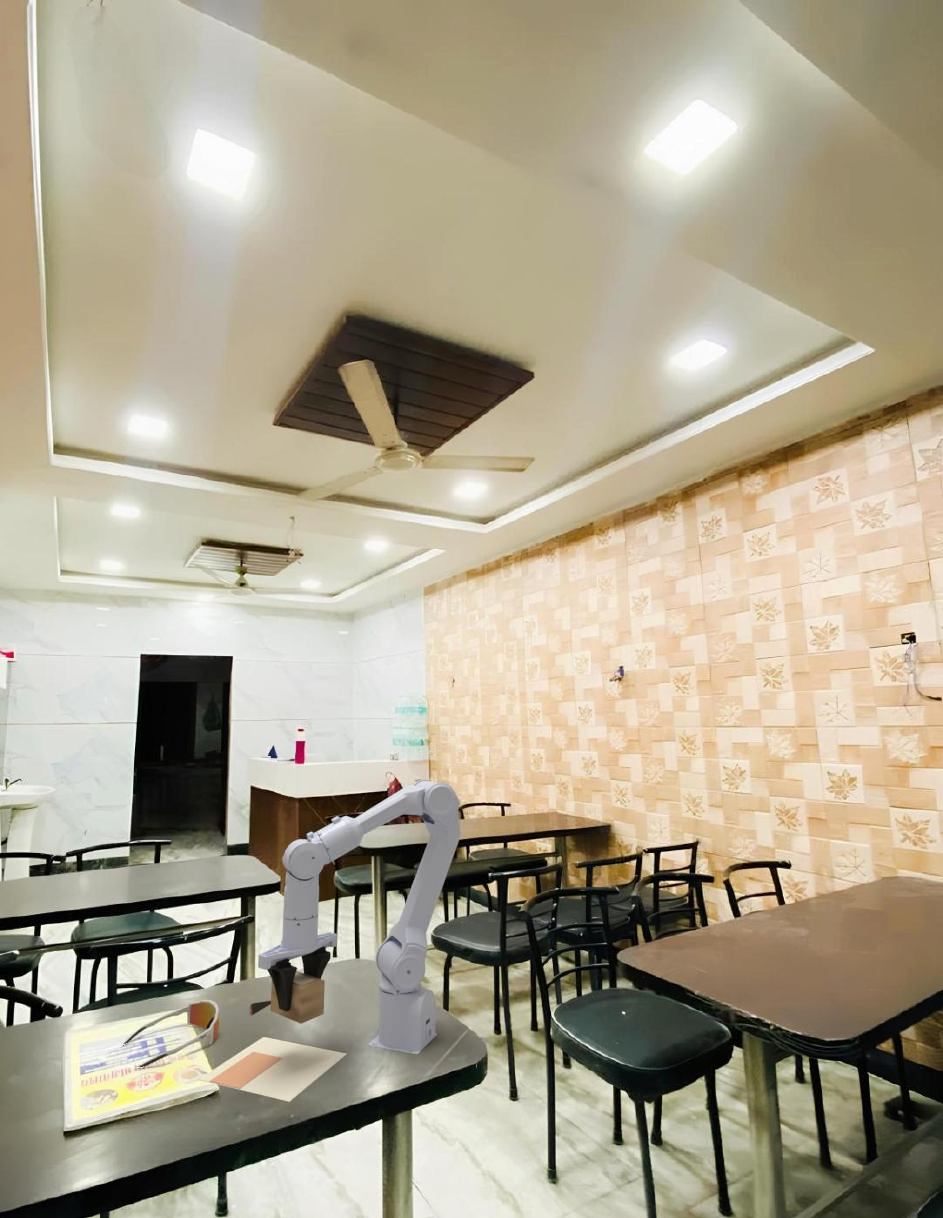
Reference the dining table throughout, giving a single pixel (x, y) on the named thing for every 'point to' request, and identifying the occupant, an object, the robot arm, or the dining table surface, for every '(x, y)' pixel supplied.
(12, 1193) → the dining table surface
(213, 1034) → the sunglasses
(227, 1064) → the mat
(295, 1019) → the card box
